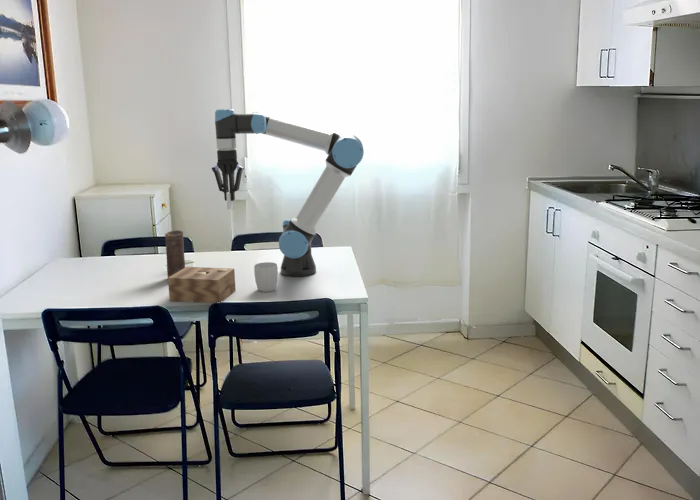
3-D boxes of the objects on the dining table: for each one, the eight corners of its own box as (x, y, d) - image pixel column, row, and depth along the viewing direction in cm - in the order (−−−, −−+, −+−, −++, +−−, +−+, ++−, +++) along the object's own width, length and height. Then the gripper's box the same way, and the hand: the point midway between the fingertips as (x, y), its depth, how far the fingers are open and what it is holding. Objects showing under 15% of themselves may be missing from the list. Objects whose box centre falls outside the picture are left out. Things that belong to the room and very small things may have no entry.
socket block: (235, 290, 264) (234, 268, 262) (219, 303, 249) (218, 279, 247) (188, 288, 268) (186, 266, 266) (169, 300, 253) (167, 277, 251)
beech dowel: (209, 294, 260) (207, 272, 258) (205, 297, 256) (203, 274, 254) (199, 294, 261) (198, 271, 259) (195, 297, 257) (193, 274, 255)
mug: (279, 292, 262) (278, 267, 259) (256, 293, 260) (254, 268, 258) (276, 283, 274) (275, 259, 271) (253, 284, 272) (252, 260, 270)
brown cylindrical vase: (189, 277, 285) (186, 230, 280) (178, 281, 278) (174, 234, 273) (175, 275, 288) (171, 229, 283) (164, 279, 281) (160, 233, 277)
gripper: (245, 148, 266) (249, 207, 272) (214, 148, 269) (218, 206, 274) (238, 150, 259) (242, 210, 265) (207, 150, 262) (211, 210, 267)
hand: (230, 208), depth 270 cm, fingers closed
